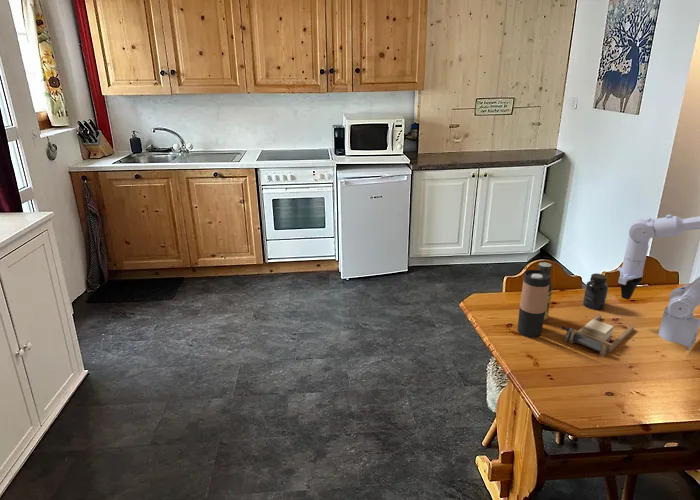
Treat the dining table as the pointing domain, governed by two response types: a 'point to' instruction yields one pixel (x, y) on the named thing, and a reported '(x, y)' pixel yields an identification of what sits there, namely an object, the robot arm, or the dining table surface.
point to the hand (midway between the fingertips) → (625, 298)
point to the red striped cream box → (598, 330)
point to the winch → (585, 341)
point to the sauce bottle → (547, 268)
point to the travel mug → (533, 303)
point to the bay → (610, 345)
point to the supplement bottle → (596, 292)
